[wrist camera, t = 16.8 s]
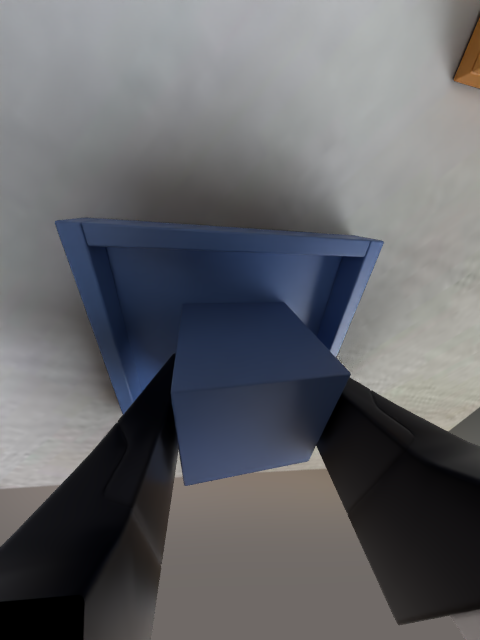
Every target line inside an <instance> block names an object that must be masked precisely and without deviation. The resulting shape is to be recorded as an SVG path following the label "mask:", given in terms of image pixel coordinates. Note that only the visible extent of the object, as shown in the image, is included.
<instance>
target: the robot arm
mask: <svg viewBox="0 0 480 640" xmlns="http://www.w3.org/2000/svg"><path fill="white" fill-rule="evenodd" d="M175 355H176V353H174V354H173V355H172V356H171V357H170V358H169V359H168V361H167V362H166V363H165V364H164V366H163V367H162V368H161V369H160V370H159V372H158V373H157V374H156V375H155V376H154V378H153V379H152V380H151V381H150V383H149V384H148V385H147V386H146V387H145V389H144V390H143V391H142V392H141V394H140V395H139V396H138V397H137V398H136V400H135V401H134V402H133V403H132V405H131V406H130V407H129V408H128V409H127V411H126V412H125V413H124V414H123V416H122V417H121V418H120V419H119V420H118V423H116V424H115V425H114V426H113V428H112V429H111V430H110V431H109V432H108V434H107V435H106V436H105V437H104V438H103V439H102V441H101V442H100V443H99V444H98V445H97V446H96V448H95V449H94V450H93V451H92V452H91V453H90V454H89V455H88V456H87V458H86V459H85V460H84V461H83V462H82V463H81V464H80V465H79V466H78V467H77V468H76V469H75V470H74V472H73V473H72V474H71V475H70V476H69V477H68V478H67V479H66V480H65V481H64V482H63V483H62V484H61V485H60V486H59V487H58V488H57V489H56V490H55V492H53V493H52V494H51V495H50V497H49V498H48V499H47V500H46V501H45V502H44V503H43V504H42V505H41V506H40V507H39V508H38V509H37V510H36V511H35V512H34V513H33V514H32V515H31V516H30V517H29V518H28V520H26V522H25V523H24V524H23V525H22V526H21V527H20V528H19V529H18V530H17V531H16V532H15V533H14V534H13V535H12V536H11V537H10V538H9V539H8V540H7V541H6V542H5V543H4V544H3V545H2V546H1V547H0V640H151V634H152V627H153V621H154V614H155V607H156V600H157V593H158V586H159V580H160V573H161V564H162V559H163V552H164V545H165V538H166V531H167V524H168V517H169V511H170V504H171V497H172V490H173V483H174V477H175V470H176V463H177V456H178V449H179V447H178V440H177V433H176V427H175V420H174V413H173V406H172V400H171V393H170V392H171V385H172V377H173V370H174V362H175ZM316 446H317V448H318V450H319V453H320V455H321V457H322V459H323V461H324V464H325V466H326V468H327V470H328V472H329V475H330V477H331V479H332V481H333V483H334V486H335V488H336V490H337V492H338V494H339V497H340V499H341V501H342V503H343V505H344V508H345V510H346V512H347V513H348V517H349V519H350V521H351V523H352V526H353V528H354V530H355V532H356V534H357V537H358V539H359V541H360V543H361V545H362V548H363V550H364V552H365V554H366V556H367V559H368V561H369V563H370V565H371V567H372V570H373V572H374V574H375V576H376V578H377V581H378V583H379V585H380V587H381V590H382V592H383V594H384V596H385V598H386V601H387V603H388V605H389V607H390V609H391V612H392V614H393V616H394V618H395V620H396V622H397V624H398V625H403V624H408V623H414V622H419V621H424V620H429V619H434V618H439V617H444V616H449V615H450V616H451V618H452V619H453V621H454V622H455V624H456V626H457V627H458V629H459V630H460V632H461V633H462V635H463V637H464V638H465V640H480V446H477V445H475V444H472V443H470V442H467V441H465V440H463V439H461V438H459V437H457V436H455V435H453V434H451V433H449V432H448V431H446V430H444V429H442V428H440V427H438V426H436V425H434V424H432V423H430V422H428V421H426V420H425V419H423V418H421V417H419V416H417V415H415V414H413V413H411V412H409V411H407V410H406V409H404V408H402V407H400V406H398V405H396V404H394V403H393V402H391V401H389V400H387V399H386V398H384V397H382V396H380V395H379V394H377V393H375V392H374V391H372V390H371V391H370V389H369V388H367V387H365V386H363V385H362V384H360V383H358V382H357V381H355V380H353V379H351V378H350V377H349V379H348V381H347V383H346V385H345V387H344V389H343V391H342V393H341V395H340V398H339V400H338V402H337V404H336V406H335V408H334V410H333V412H332V414H331V416H330V418H329V420H328V422H327V424H326V426H325V428H324V430H323V432H322V434H321V436H320V438H319V440H318V442H317V444H316Z"/></svg>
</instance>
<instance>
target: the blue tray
mask: <svg viewBox="0 0 480 640" xmlns="http://www.w3.org/2000/svg"><path fill="white" fill-rule="evenodd" d="M55 225H56V228H57V231H58V234H59V236H60V239H61V242H62V245H63V248H64V251H65V253H66V256H67V259H68V262H69V265H70V267H71V270H72V273H73V276H74V279H75V281H76V284H77V287H78V290H79V293H80V295H81V298H82V301H83V304H84V307H85V310H86V312H87V315H88V318H89V321H90V324H91V326H92V329H93V332H94V335H95V338H96V340H97V343H98V346H99V349H100V352H101V355H102V357H103V360H104V363H105V366H106V369H107V371H108V374H109V377H110V380H111V383H112V385H113V388H114V391H115V394H116V397H117V399H118V402H119V405H120V408H121V411H122V414H124V413H125V412H126V411H127V409H128V408H129V407H130V406H131V405H132V403H133V402H134V401H135V400H136V398H137V397H138V396H139V395H140V394H141V392H142V391H143V390H144V389H145V387H146V386H147V385H148V384H149V383H150V381H151V380H152V379H153V378H154V376H155V375H156V374H157V373H158V372H159V370H160V369H161V368H162V367H163V366H164V364H165V363H166V362H167V361H168V359H169V358H170V357H171V356H172V355H173V354H174V353H176V347H177V340H178V332H179V325H180V318H181V310H182V304H190V303H263V302H285V303H286V304H287V306H288V307H289V308H290V309H291V310H292V311H293V312H294V313H295V314H296V315H297V316H298V317H299V318H300V320H301V321H302V322H303V323H304V324H305V325H306V326H307V327H308V328H309V329H310V330H311V331H312V332H313V334H314V335H315V336H316V337H317V338H318V339H319V340H320V341H321V342H322V343H323V344H324V345H325V346H326V348H327V349H328V350H329V351H330V352H331V353H332V354H333V355H334V356H335V357H337V355H338V352H339V350H340V348H341V345H342V343H343V340H344V338H345V335H346V333H347V331H348V328H349V326H350V323H351V321H352V319H353V316H354V314H355V311H356V309H357V306H358V304H359V302H360V299H361V297H362V294H363V292H364V289H365V287H366V285H367V282H368V280H369V277H370V275H371V273H372V270H373V268H374V265H375V263H376V260H377V258H378V256H379V253H380V251H381V248H382V246H383V244H384V242H383V241H381V240H376V239H370V238H365V237H359V236H354V235H342V234H327V233H312V232H297V231H282V230H267V229H252V228H237V227H222V226H207V225H192V224H177V223H162V222H147V221H132V220H117V219H102V218H87V217H86V218H76V219H66V220H57V221H55Z"/></svg>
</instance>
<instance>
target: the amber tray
mask: <svg viewBox="0 0 480 640" xmlns="http://www.w3.org/2000/svg"><path fill="white" fill-rule="evenodd" d="M454 81H456V82H459V83H462V84H466V85H469V86H473V87H476V88H479V89H480V17H479V20H478V22H477V25H476V27H475V29H474V32H473V34H472V37H471V39H470V41H469V44H468V46H467V49H466V51H465V53H464V56H463V58H462V61H461V63H460V65H459V68H458V70H457V73H456V75H455V77H454Z"/></svg>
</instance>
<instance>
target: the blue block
mask: <svg viewBox="0 0 480 640" xmlns="http://www.w3.org/2000/svg"><path fill="white" fill-rule="evenodd" d="M350 375H351V374H350V372H349V371H348V370H347V369H346V368H345V367H344V366H343V365H342V364H341V363H340V362H339V360H338V359H337V358H336V357H335V356H334V355H333V354H332V353H331V352H330V351H329V350H328V349H327V348H326V346H325V345H324V344H323V343H322V342H321V341H320V340H319V339H318V338H317V337H316V336H315V335H314V334H313V332H312V331H311V330H310V329H309V328H308V327H307V326H306V325H305V324H304V323H303V322H302V321H301V320H300V318H299V317H298V316H297V315H296V314H295V313H294V312H293V311H292V310H291V309H290V308H289V307H288V306H287V304H286V303H285V302H263V303H190V304H182V310H181V318H180V325H179V332H178V340H177V347H176V355H175V362H174V370H173V377H172V385H171V392H170V393H171V400H172V406H173V413H174V420H175V427H176V433H177V440H178V447H179V454H180V461H181V467H182V474H183V481H184V485H185V486H188V485H193V484H197V483H203V482H207V481H213V480H218V479H222V478H227V477H232V476H237V475H242V474H247V473H252V472H257V471H262V470H267V469H272V468H277V467H282V466H287V465H292V464H297V463H302V462H307V461H309V459H310V457H311V455H312V453H313V451H314V449H315V446H316V444H317V442H318V440H319V438H320V436H321V434H322V432H323V430H324V428H325V426H326V424H327V422H328V420H329V418H330V416H331V414H332V412H333V410H334V408H335V406H336V404H337V402H338V400H339V398H340V395H341V393H342V391H343V389H344V387H345V385H346V383H347V381H348V379H349V377H350Z"/></svg>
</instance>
